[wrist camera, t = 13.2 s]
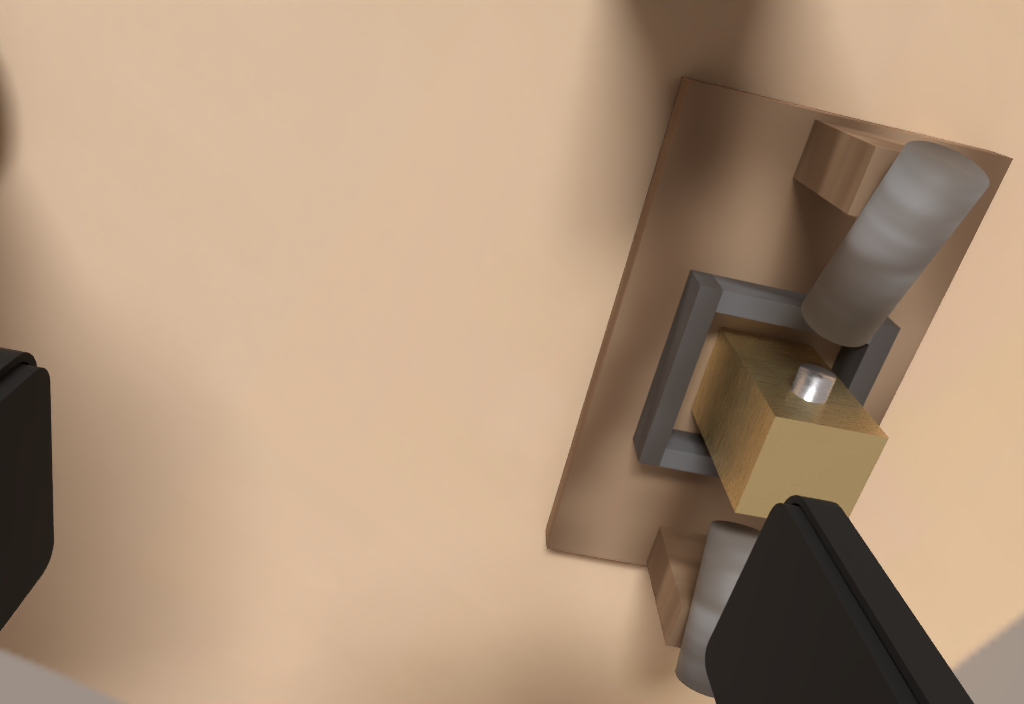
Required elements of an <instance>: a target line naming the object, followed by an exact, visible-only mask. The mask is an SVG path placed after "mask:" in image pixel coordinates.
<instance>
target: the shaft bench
mask: <svg viewBox="0 0 1024 704" xmlns="http://www.w3.org/2000/svg"><path fill="white" fill-rule="evenodd" d="M1012 160H1013V159H1012V158H1010V157H1007V156H1004V155H1001V154H998V153H995V152H992V151H988V150H984V149H980V148H976V147H971V146H967V145H963V144H959V143H955V142H951V141H946V140H942V139H938V138H934V137H930V136H926V135H921V134H917V133H913V132H909V131H905V130H901V129H897V128H892V127H888V126H884V125H880V124H876V123H872V122H867V121H863V120H859V119H855V118H851V117H847V116H842V115H838V114H834V113H830V112H826V111H822V110H818V109H813V108H809V107H805V106H801V105H797V104H793V103H788V102H784V101H780V100H776V99H772V98H768V97H763V96H759V95H755V94H751V93H747V92H743V91H738V90H734V89H730V88H726V87H722V86H718V85H714V84H709V83H705V82H701V81H697V80H693V79H689V78H684V77H682V80H681V84H680V87H679V90H678V93H677V97H676V100H675V103H674V107H673V110H672V113H671V117H670V120H669V123H668V127H667V130H666V133H665V137H664V140H663V143H662V146H661V150H660V153H659V156H658V160H657V163H656V166H655V170H654V173H653V176H652V180H651V183H650V186H649V189H648V193H647V196H646V199H645V203H644V206H643V209H642V213H641V216H640V219H639V223H638V226H637V229H636V233H635V236H634V239H633V242H632V246H631V249H630V252H629V256H628V259H627V262H626V266H625V269H624V272H623V276H622V279H621V282H620V286H619V289H618V292H617V295H616V299H615V302H614V305H613V309H612V312H611V315H610V319H609V322H608V325H607V329H606V332H605V335H604V339H603V342H602V345H601V348H600V352H599V355H598V358H597V362H596V365H595V368H594V372H593V375H592V378H591V382H590V385H589V388H588V392H587V395H586V398H585V401H584V405H583V408H582V411H581V415H580V418H579V421H578V425H577V428H576V431H575V435H574V438H573V441H572V445H571V448H570V451H569V454H568V458H567V461H566V464H565V468H564V471H563V474H562V478H561V481H560V484H559V488H558V491H557V494H556V497H555V501H554V504H553V507H552V511H551V514H550V517H549V521H548V524H547V527H546V544H547V549H552V550H558V551H564V552H569V553H575V554H581V555H586V556H592V557H598V558H603V559H609V560H615V561H621V562H626V563H632V564H638V565H643V566H648V570H649V575H650V579H651V583H652V587H653V592H654V596H655V600H656V604H657V609H658V613H659V617H660V621H661V626H662V630H663V634H664V638H665V643H666V645H668V646H674V647H680V648H681V649H680V653H679V658H678V662H677V666H676V670H675V673H676V676H677V677H678V679H679V680H680V681H681V682H682V683H683V684H685V685H686V686H687V687H689V688H691V689H692V690H694V691H696V692H698V693H701V694H703V695H706V696H710V697H714V695H713V692H712V689H711V686H710V683H709V679H708V676H707V673H706V669H705V652H706V647H707V644H708V641H709V639H710V637H711V635H712V633H713V631H714V629H715V627H716V624H717V622H718V620H719V618H720V616H721V614H722V612H723V610H724V608H725V605H726V603H727V601H728V599H729V597H730V595H731V593H732V591H733V589H734V586H735V584H736V582H737V580H738V578H739V576H740V574H741V572H742V570H743V567H744V565H745V563H746V561H747V559H748V557H749V555H750V553H751V551H752V548H753V546H754V544H755V542H756V540H757V538H758V536H759V534H760V532H761V529H762V527H763V525H764V523H765V521H766V519H767V518H762V517H757V516H751V515H746V514H740V513H735V512H734V509H733V507H732V505H731V502H730V500H729V498H728V495H727V493H726V490H725V488H724V486H723V483H722V481H721V479H720V476H719V474H718V472H717V469H716V467H715V465H714V462H713V460H712V457H711V455H710V453H709V450H708V448H707V446H706V443H705V441H704V439H703V436H702V434H701V432H700V429H699V427H698V424H697V422H696V420H695V417H694V415H693V413H692V410H691V407H692V405H693V402H694V399H695V396H696V394H697V391H698V388H699V385H700V383H701V380H702V377H703V374H704V372H705V369H706V366H707V363H708V361H709V358H710V355H711V352H712V350H713V347H714V344H715V341H716V339H717V336H718V333H719V330H720V328H721V327H723V328H728V329H733V330H738V331H743V332H748V333H753V334H758V335H763V336H768V337H772V338H777V339H782V340H787V341H792V342H797V343H802V344H807V345H812V347H813V348H814V349H815V350H816V351H817V353H818V354H819V355H820V356H821V357H822V359H823V360H824V361H825V362H826V363H827V365H828V366H829V367H830V368H831V369H832V371H833V372H834V373H835V374H836V375H837V377H838V378H839V379H840V380H841V381H842V383H843V384H844V385H845V386H846V387H847V389H848V390H849V391H850V392H851V393H852V395H853V396H854V397H855V398H856V399H857V401H858V402H859V403H860V404H861V405H862V407H863V408H864V409H865V410H866V411H867V413H868V414H869V415H870V416H871V417H872V419H873V420H874V421H875V422H876V423H877V425H878V426H879V425H880V423H881V421H882V419H883V417H884V415H885V413H886V411H887V409H888V407H889V405H890V403H891V401H892V399H893V397H894V395H895V393H896V391H897V389H898V387H899V385H900V383H901V381H902V379H903V377H904V375H905V373H906V371H907V369H908V367H909V365H910V363H911V361H912V359H913V357H914V355H915V353H916V351H917V349H918V347H919V345H920V343H921V341H922V339H923V337H924V335H925V333H926V331H927V329H928V327H929V325H930V323H931V321H932V319H933V317H934V315H935V313H936V311H937V309H938V307H939V305H940V303H941V301H942V299H943V297H944V296H945V294H946V292H947V290H948V288H949V286H950V284H951V282H952V280H953V278H954V276H955V274H956V272H957V270H958V268H959V266H960V264H961V262H962V260H963V258H964V256H965V254H966V252H967V250H968V248H969V246H970V244H971V242H972V240H973V238H974V236H975V234H976V232H977V230H978V228H979V226H980V224H981V222H982V220H983V218H984V216H985V214H986V212H987V210H988V208H989V206H990V204H991V202H992V200H993V198H994V196H995V194H996V192H997V190H998V188H999V186H1000V184H1001V182H1002V180H1003V178H1004V176H1005V174H1006V172H1007V170H1008V168H1009V166H1010V164H1011V162H1012Z"/></svg>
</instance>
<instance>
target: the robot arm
mask: <svg viewBox="0 0 1024 704" xmlns="http://www.w3.org/2000/svg"><path fill="white" fill-rule="evenodd" d="M53 545H54V525H53V482H52V438H51V395H50V376H49V373H48V371H47V370H46V369H45V368H41V367H37V364H36V361H35V359H34V357H33V356H32V355H31V354H30V353H27V352H21V351H16V350H10V349H5V348H0V631H1V629H2V628H3V627H4V625H5V624H6V623H7V621H8V620H9V619H10V617H11V616H12V615H13V613H14V612H15V611H16V609H17V608H18V607H19V605H20V604H21V602H22V601H23V600H24V598H25V597H26V596H27V594H28V593H29V592H30V590H31V589H32V588H33V586H34V585H35V584H36V582H37V581H38V580H39V578H40V577H41V576H42V574H43V572H44V571H45V569H46V567H47V565H48V563H49V561H50V558H51V555H52V551H53ZM705 669H706V673H707V676H708V679H709V683H710V686H711V689H712V692H713V695H714V698H715V701H716V704H974V703H973V701H972V700H971V699H970V697H969V695H968V694H967V693H966V691H965V690H964V688H963V687H962V685H961V684H960V682H959V681H958V679H957V678H956V676H955V675H954V673H953V672H952V670H951V669H950V667H949V666H948V664H947V663H946V661H945V660H944V659H943V657H942V656H941V654H940V653H939V651H938V650H937V648H936V647H935V645H934V644H933V642H932V641H931V639H930V638H929V636H928V635H927V633H926V632H925V630H924V629H923V628H922V626H921V625H920V623H919V622H918V620H917V619H916V617H915V616H914V614H913V613H912V611H911V610H910V608H909V607H908V605H907V604H906V602H905V601H904V599H903V598H902V596H901V595H900V594H899V592H898V591H897V589H896V588H895V586H894V585H893V583H892V582H891V580H890V579H889V577H888V576H887V574H886V573H885V571H884V570H883V568H882V567H881V565H880V564H879V563H878V561H877V560H876V558H875V557H874V555H873V554H872V552H871V551H870V549H869V548H868V546H867V545H866V543H865V542H864V540H863V539H862V537H861V536H860V534H859V533H858V531H857V530H856V529H855V527H854V526H853V524H852V523H851V521H850V520H849V518H848V517H847V515H846V514H845V512H844V511H843V509H842V508H841V507H840V506H839V505H838V504H837V503H835V502H832V501H826V500H821V499H816V498H810V497H805V496H799V495H793V496H790V497H789V498H788V499H787V500H786V501H785V502H784V503H777V504H776V505H774V506H773V508H772V509H771V511H770V513H769V515H768V517H767V519H766V521H765V523H764V525H763V527H762V529H761V532H760V534H759V536H758V538H757V540H756V542H755V544H754V546H753V548H752V551H751V553H750V555H749V557H748V559H747V561H746V563H745V565H744V567H743V570H742V572H741V574H740V576H739V578H738V580H737V582H736V584H735V586H734V589H733V591H732V593H731V595H730V597H729V599H728V601H727V603H726V605H725V608H724V610H723V612H722V614H721V616H720V618H719V620H718V622H717V624H716V627H715V629H714V631H713V633H712V635H711V637H710V639H709V641H708V644H707V647H706V652H705Z"/></svg>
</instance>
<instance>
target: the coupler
mask: <svg viewBox="0 0 1024 704" xmlns="http://www.w3.org/2000/svg"><path fill="white" fill-rule="evenodd" d="M691 410H692V413H693V415H694V417H695V420H696V422H697V424H698V427H699V429H700V432H701V434H702V436H703V439H704V441H705V443H706V446H707V448H708V450H709V453H710V455H711V457H712V460H713V462H714V465H715V467H716V469H717V472H718V474H719V476H720V479H721V481H722V483H723V486H724V488H725V490H726V493H727V495H728V498H729V500H730V502H731V505H732V507H733V509H734V512H735V513H740V514H746V515H751V516H757V517H762V518H767V517H768V515H769V513H770V511H771V509H772V508H773V506H774V505H776V504H777V503H784V502H785V501H786V500H787V499H788V498H789V497H790V496H793V495H799V496H805V497H810V498H816V499H821V500H826V501H832V502H835V503H837V504H838V505H839V506H840V507H841V508H842V509H843V511H844V512H845V514H846V515H847V517H848V518H849V516H850V514H851V512H852V510H853V508H854V506H855V504H856V502H857V500H858V498H859V496H860V494H861V492H862V490H863V488H864V486H865V484H866V482H867V480H868V478H869V476H870V474H871V472H872V470H873V468H874V466H875V464H876V462H877V460H878V458H879V456H880V454H881V452H882V450H883V448H884V446H885V444H886V442H887V440H888V437H887V435H886V434H885V433H884V432H883V431H882V429H881V428H880V427H879V426H878V425H877V423H876V422H875V421H874V420H873V419H872V417H871V416H870V415H869V414H868V413H867V411H866V410H865V409H864V408H863V407H862V405H861V404H860V403H859V402H858V401H857V399H856V398H855V397H854V396H853V395H852V393H851V392H850V391H849V390H848V389H847V387H846V386H845V385H844V384H843V383H842V381H841V380H840V379H839V378H838V377H837V375H836V374H835V373H834V372H833V371H832V369H831V368H830V367H829V366H828V365H827V363H826V362H825V361H824V360H823V359H822V357H821V356H820V355H819V354H818V353H817V351H816V350H815V349H814V348H813V347H812V345H807V344H802V343H797V342H792V341H787V340H782V339H777V338H772V337H768V336H763V335H758V334H753V333H748V332H743V331H738V330H733V329H728V328H723V327H721V328H720V330H719V333H718V336H717V339H716V341H715V344H714V347H713V350H712V352H711V355H710V358H709V361H708V363H707V366H706V369H705V372H704V374H703V377H702V380H701V383H700V385H699V388H698V391H697V394H696V396H695V399H694V402H693V405H692V407H691Z"/></svg>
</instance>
